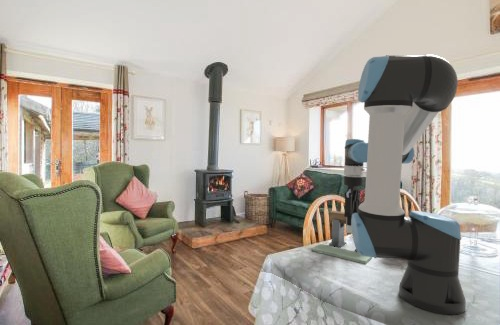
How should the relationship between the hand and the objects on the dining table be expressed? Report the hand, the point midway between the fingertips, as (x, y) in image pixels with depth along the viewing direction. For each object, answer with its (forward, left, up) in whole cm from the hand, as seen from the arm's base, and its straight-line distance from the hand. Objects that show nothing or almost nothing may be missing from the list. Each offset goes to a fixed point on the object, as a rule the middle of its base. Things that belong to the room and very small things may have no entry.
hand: (351, 231), depth 120 cm
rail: (0, 0, +3) cm, 3 cm away
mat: (-11, 0, -7) cm, 13 cm away
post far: (0, +6, -7) cm, 9 cm away
